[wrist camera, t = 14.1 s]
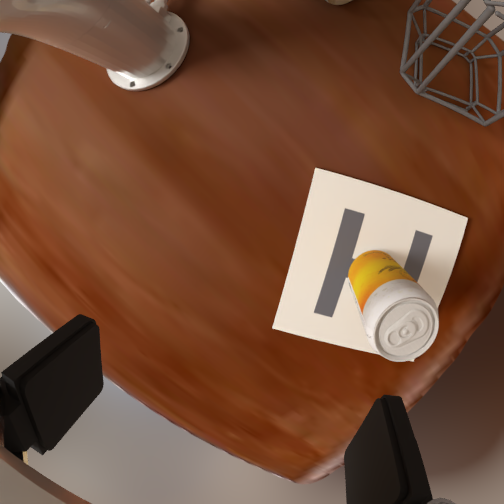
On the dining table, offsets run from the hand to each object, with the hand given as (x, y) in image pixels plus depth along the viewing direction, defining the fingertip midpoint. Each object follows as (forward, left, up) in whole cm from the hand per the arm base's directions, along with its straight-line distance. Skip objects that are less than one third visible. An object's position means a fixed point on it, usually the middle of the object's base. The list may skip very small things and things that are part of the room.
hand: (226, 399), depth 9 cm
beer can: (+1, +11, -28) cm, 30 cm away
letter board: (+1, +11, -29) cm, 31 cm away
